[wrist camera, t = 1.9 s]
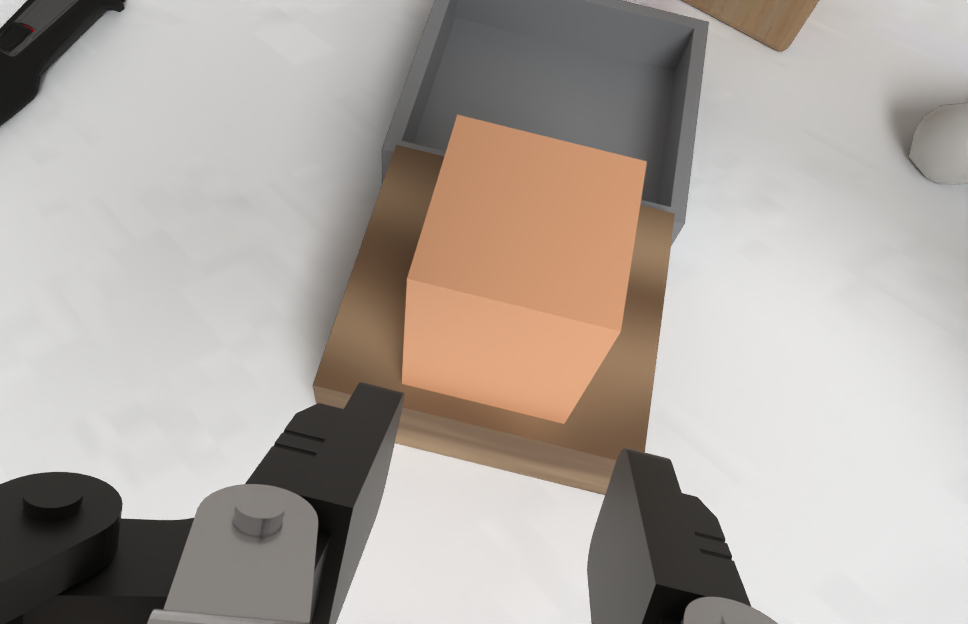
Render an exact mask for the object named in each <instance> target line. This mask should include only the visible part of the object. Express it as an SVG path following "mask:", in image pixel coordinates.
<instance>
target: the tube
mask: <svg viewBox="0 0 968 624" xmlns="http://www.w3.org/2000/svg"><path fill="white" fill-rule="evenodd" d="M909 158H910V159H911V160H912V162H913V163H914V164H915V165H916V166H917V168H918V169H919V170H920V171H921V172H922V173H923V175H924V176H925V177H927V178H928V179H929V180H931V181H932V182H934V183H937V184H965V183H968V103H959V104H951V105H942V106H939V107H937V108H936V109H934V110H933V111H932V112H930V113H929V114H927V115H926V116H925V117H923V118H922V120H921V122H920V124H919V125H918V127H917V129H916V130H915V132H914V136H913V140H912V145H911V150H910V155H909Z"/></svg>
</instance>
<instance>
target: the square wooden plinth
mask: <svg viewBox="0 0 968 624" xmlns="http://www.w3.org/2000/svg"><path fill="white" fill-rule="evenodd" d="M443 160H444V156H440V155H436V154H432V153H428V152H424V151H420V150H416V149H412V148H408V147H404V146H400V145H396V146H395V149H394V152H393V155H392V158H391V161H390V164H389V167H388V169H387V172H386V175H385V178H384V181H383V184H382V187H381V190H380V193H379V195H378V198H377V201H376V204H375V207H374V210H373V213H372V216H371V218H370V221H369V224H368V227H367V230H366V233H365V236H364V239H363V242H362V244H361V247H360V250H359V253H358V256H357V259H356V262H355V265H354V268H353V270H352V273H351V276H350V279H349V282H348V285H347V288H346V291H345V293H344V296H343V299H342V302H341V305H340V308H339V311H338V314H337V317H336V319H335V322H334V325H333V328H332V331H331V334H330V337H329V340H328V343H327V345H326V348H325V351H324V354H323V357H322V360H321V363H320V366H319V368H318V371H317V374H316V377H315V380H314V383H313V389H314V394H315V398H316V403H317V404H318V403H321V404H325V405H329V406H333V407H338V408H342V409H344V407H345V406H346V404H347V402H348V401H349V399H350V397H351V395H352V394H353V392H354V390H355V389H356V387H357V385H358V384H359V382H363V383H367V384H371V385H375V386H379V387H383V388H387V389H391V390H395V391H399V392H403V393H405V396H404V402H403V408H402V412H401V417H400V421H399V426H398V430H397V435H396V439H395V443H397V444H401V445H405V446H409V447H413V448H417V449H421V450H425V451H429V452H433V453H437V454H441V455H445V456H450V457H454V458H458V459H462V460H466V461H470V462H474V463H478V464H482V465H486V466H490V467H494V468H498V469H502V470H506V471H510V472H514V473H518V474H522V475H526V476H530V477H534V478H538V479H542V480H546V481H550V482H554V483H559V484H563V485H567V486H571V487H575V488H579V489H583V490H587V491H591V492H595V493H599V494H603V495H605V494H606V491H607V488H608V485H609V482H610V479H611V476H612V472H613V469H614V466H615V463H616V460H617V458H618V455H619V453H620V452H621V450H622V449H623V448H628V449H632V450H636V451H640V452H644V453H645V445H646V437H647V429H648V421H649V413H650V406H651V398H652V390H653V382H654V374H655V366H656V359H657V351H658V343H659V335H660V327H661V319H662V311H663V304H664V296H665V288H666V280H667V272H668V264H669V257H670V249H671V241H672V233H673V225H674V217H675V213H671V212H667V211H663V210H659V209H655V208H651V207H647V206H643V205H640V210H639V216H638V223H637V229H636V236H635V242H634V249H633V255H632V262H631V268H630V275H629V281H628V288H627V295H626V301H625V308H624V314H623V321H622V327H621V332H620V334H619V335H618V337H617V339H616V340H615V342H614V344H613V345H612V347H611V348H610V350H609V352H608V353H607V355H606V357H605V358H604V360H603V362H602V363H601V365H600V366H599V368H598V370H597V371H596V373H595V375H594V376H593V378H592V380H591V381H590V383H589V384H588V386H587V388H586V389H585V391H584V393H583V394H582V396H581V398H580V399H579V401H578V402H577V404H576V406H575V407H574V409H573V411H572V412H571V414H570V416H569V417H568V419H567V420H566V422H565V424H562V423H558V422H554V421H550V420H546V419H542V418H538V417H534V416H530V415H526V414H522V413H518V412H514V411H510V410H506V409H502V408H498V407H494V406H490V405H485V404H481V403H477V402H473V401H469V400H465V399H461V398H457V397H453V396H449V395H445V394H441V393H437V392H433V391H429V390H425V389H421V388H417V387H413V386H409V385H405V384H402V366H403V347H404V327H405V308H406V288H407V277H408V274H409V271H410V267H411V264H412V261H413V257H414V254H415V251H416V248H417V244H418V241H419V238H420V235H421V231H422V228H423V225H424V222H425V218H426V215H427V212H428V209H429V205H430V202H431V199H432V196H433V192H434V189H435V186H436V183H437V179H438V176H439V173H440V170H441V166H442V163H443Z"/></svg>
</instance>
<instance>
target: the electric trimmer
mask: <svg viewBox="0 0 968 624" xmlns="http://www.w3.org/2000/svg"><path fill="white" fill-rule="evenodd" d="M124 1H125V0H27V1H26V2H25V3H24V4H23V5H22V7H21V8H20V9H19V10H18V11H17V12H16V13H15V14H14V15H13V16H12V17H11V18H10V19H9V20H8V21H7V22H6V23H5V24H4V25H3V26H2V27H1V28H0V126H1V125H2V124H3V123H4V122H6V121H7V120H8V119H9V118H11V117H12V116H13V115H14V114H16V113H17V112H18V111H19V110H20V109H22V108H23V107H24V106H25V105H26V104H28V103H29V102H30V101H31V100H32V99H33V98H34V97H35V96H36V94H37V89H38V82H39V77H40V75H41V74H42V73H43V72H44V71H45V70H46V69H47V68H48V67H49V66H50V65H51V64H52V63H53V62H54V61H55V60H56V59H57V58H58V57H59V56H60V55H61V54H63V53H64V52H65V51H66V50H67V49H68V48H69V47H70V46H71V45H72V44H73V43H74V42H75V41H76V40H77V39H78V38H79V37H80V36H81V35H82V34H83V33H84V32H85V31H86V30H87V29H88V28H89V27H90V26H91V25H92V24H93V23H94V22H95V21H96V20H97V19H98V18H99V17H100V16H101V15H102V14H103V13H105V12H106V11H107V10H115V11H118V12H121V11H122V10H123V9H124V6H123V3H122V2H124Z"/></svg>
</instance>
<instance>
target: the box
mask: <svg viewBox="0 0 968 624" xmlns="http://www.w3.org/2000/svg"><path fill="white" fill-rule="evenodd" d="M708 24H709V22H707V21H703V20H699V19H695V18H691V17H687V16H683V15H679V14H675V13H671V12H666V11H662V10H658V9H654V8H650V7H646V6H642V5H638V4H634V3H630V2H626V1H622V0H435V1H434V4H433V7H432V10H431V12H430V15H429V18H428V21H427V24H426V26H425V29H424V32H423V35H422V38H421V41H420V43H419V46H418V49H417V52H416V55H415V57H414V60H413V63H412V66H411V69H410V71H409V74H408V77H407V80H406V83H405V85H404V88H403V91H402V94H401V97H400V99H399V102H398V105H397V108H396V111H395V113H394V116H393V119H392V122H391V125H390V128H389V130H388V133H387V136H386V139H385V142H384V144H383V147H382V184H383V181H384V178H385V175H386V172H387V169H388V167H389V164H390V161H391V158H392V155H393V152H394V149H395V146H396V145H400V146H404V147H408V148H412V149H416V150H420V151H424V152H428V153H432V154H436V155H440V156H444V157H445V153H446V150H447V147H448V143H449V140H450V137H451V134H452V130H453V127H454V124H455V121H456V117H457V115H461V116H465V117H469V118H473V119H477V120H481V121H485V122H489V123H493V124H497V125H502V126H506V127H510V128H514V129H518V130H522V131H526V132H530V133H534V134H538V135H542V136H546V137H550V138H554V139H558V140H562V141H566V142H570V143H574V144H578V145H582V146H586V147H591V148H595V149H599V150H603V151H607V152H611V153H615V154H619V155H623V156H627V157H631V158H635V159H639V160H643V161H647V164H646V171H645V177H644V184H643V190H642V197H641V203H640V205H643V206H647V207H651V208H655V209H659V210H663V211H667V212H671V213H675V217H674V225H673V233H672V241H671V245H672V244H673V242H674V240H675V239H676V237H677V235H678V234H679V232H680V231H681V229H682V227H683V226H684V224H685V217H686V208H687V200H688V191H689V183H690V175H691V166H692V158H693V150H694V141H695V133H696V125H697V116H698V108H699V99H700V91H701V83H702V74H703V66H704V58H705V49H706V41H707V33H708Z"/></svg>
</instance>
